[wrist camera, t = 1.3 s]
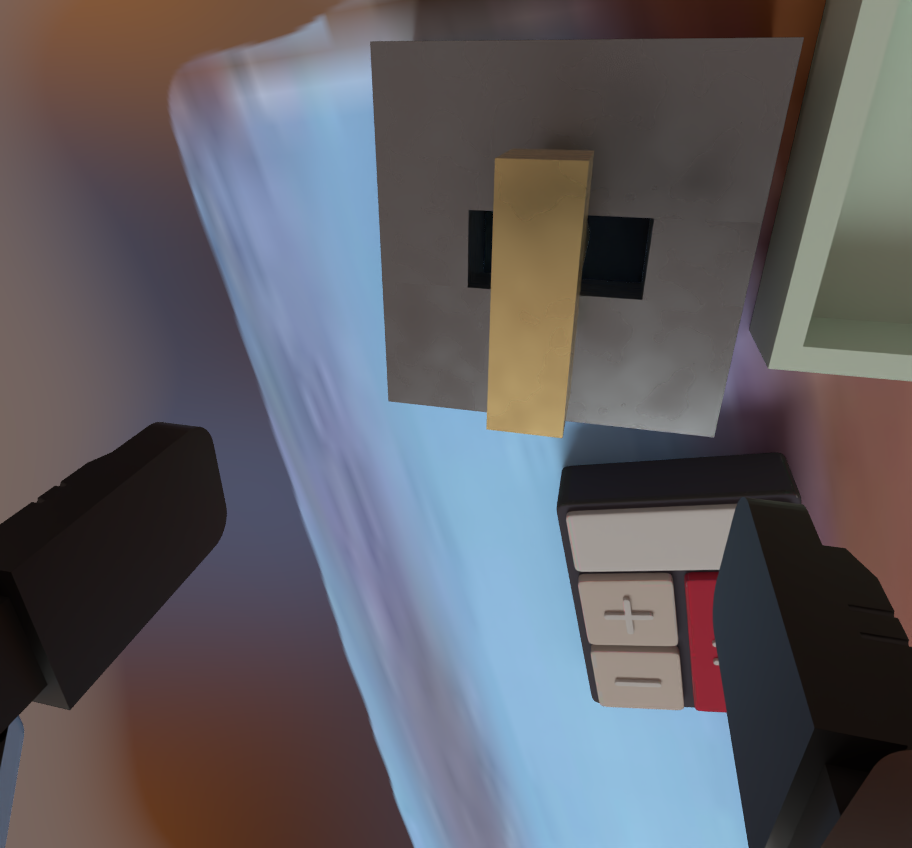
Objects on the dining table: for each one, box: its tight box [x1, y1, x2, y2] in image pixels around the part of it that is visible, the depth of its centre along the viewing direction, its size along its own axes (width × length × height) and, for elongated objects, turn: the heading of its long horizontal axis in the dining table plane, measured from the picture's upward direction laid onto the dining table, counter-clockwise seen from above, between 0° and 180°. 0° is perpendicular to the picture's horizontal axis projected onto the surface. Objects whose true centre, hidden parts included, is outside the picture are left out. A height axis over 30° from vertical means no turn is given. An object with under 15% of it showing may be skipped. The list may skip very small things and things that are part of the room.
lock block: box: [370, 37, 804, 437], centre depth 26 cm, size 14×14×5 cm
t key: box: [487, 148, 594, 438], centre depth 23 cm, size 8×2×12 cm, turn 0°
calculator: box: [557, 453, 801, 712], centre depth 34 cm, size 11×4×15 cm
